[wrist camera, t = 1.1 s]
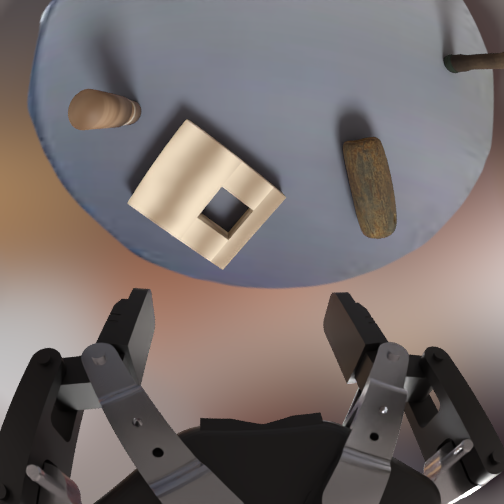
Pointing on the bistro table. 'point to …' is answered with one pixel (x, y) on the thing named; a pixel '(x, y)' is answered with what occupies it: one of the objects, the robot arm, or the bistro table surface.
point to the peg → (102, 110)
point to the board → (203, 194)
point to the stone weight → (371, 186)
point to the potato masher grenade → (474, 62)
